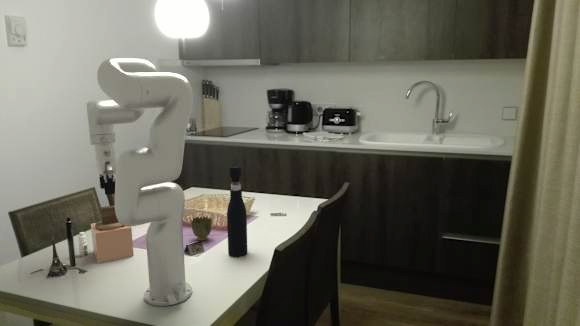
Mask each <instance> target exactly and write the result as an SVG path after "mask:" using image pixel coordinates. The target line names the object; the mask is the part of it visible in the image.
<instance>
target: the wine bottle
mask: <svg viewBox="0 0 580 326" xmlns="http://www.w3.org/2000/svg"><path fill="white" fill-rule="evenodd" d="M228 170H229V172H228V173H229V177H230V178H231V184H230V199H229V201H228V205H227V211H226V223H227V224H226V225H227V227H226V228H227V252H228V257H229V256H230V257H231V258H243V257H245V256H247V255H248V226H247V225H248V223H247V221H248V220H247V218H248V217H247V208H246V205H245V202H244V201H245V200H243V190H242V185H241V183H240V182H241V181H240V178H241V177H242V176H243V175H242V166H241V165H236V164H235V165H230V166H229V168H228Z"/></svg>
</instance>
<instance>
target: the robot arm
mask: <svg viewBox="0 0 580 326" xmlns="http://www.w3.org/2000/svg"><path fill="white" fill-rule="evenodd" d="M96 77H97V83H98V86H99V87H100V89H101V90H102V92H103V93H104V94H105V95H106V96H107V97H109V99H98V100H97V99H95V100H89V101H88V102H87V103H86V113H87V121H88V122H87V123H88V130H89V131H88V132H89V141H90V143H89V144H90V145H91V146H94V151H95V163H96V169H97V171H98V173H99V186H100V189H101V190H102V189H104V195H106V196H109V195H114V205H115V213H116V217H117V219H118V221H119V222H120V224H122V225H123V226H127V227H131V228H132V227H136V226H141V225H145V224H149V226H148V228H147V230H146V235H145V242H146V243H145V245H146V256H147V257H146V258H147V268H148V269H147V270H148V282H149V287H148V288H147V289H145V291H144V293H143V297H144V301H145V302H146V303H148V304H149V305H152V306H156V307H158V306H160V307H165V306H166V307H167V306H172V305H177V304H179V303H182V302H184V301H186V300H187V299H188V298H190V296H191V295H192V293H193V288H192V286H191V284H190V283H188V282H187V281H186V268H185V267H186V266H185V249H184V230H183V229H184V228H183V225H184V224H183V222H184V211H185V204H186V203H185V202H186V196H185V192H184V190H183V188H182V187H181V185H179V184H178V183H175V182H173V181H176V180H177V179H178V178H179V177H180V175H181V174H182V169H183V161H184V155H185V154H184V151H185V144H186V143H185V142H186V132H187V128H188V125H189V122H190V119H191V115H192V112H193V107H194V106H193V105H194V94H193V89H192V86H191V84H190V81H189V80H188V79H187V77H185V76H183V75H181V74H179V73H175V72H174V73H173V72H164V71H163V72H160V71H159V72H158V71H157V68H156V67H155V65H154V64H153V63H151V62H150V61H149V60H146V59H143V58H106V59H105V60H103V61H102V62H101V63H100V65H99V66H98V69H97V75H96ZM157 108H162V110H161V111H160V112H159V114H158V115H157V116H156V117H155V119H154V120H153V122H152V124H151V126H150V128H149V139H148V144H147V145H146V146H143V147H135V148H130V149H126V150H124V151H122V152H121V153H120V154H119V156H118V158H116V152H115V146H114V144H116V143H117V142H116V141H117V139H116V130H115V125H121V124H122V125H123V124H132V123H135V122H137V121H138V120H139V119H140V118H141V117H142V116H143V115H144V113H145V110H146V109H157ZM116 159H117V160H116ZM114 174H115V176H114Z"/></svg>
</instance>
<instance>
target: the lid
mask: <svg viewBox="0 0 580 326" xmlns="http://www.w3.org/2000/svg"><path fill="white" fill-rule="evenodd" d="M100 217H101V220H99V221H96V222H95V223H96V224H95V226H96V229H98V230H101V231H103V230H114V229H118V228H121V227H123V225H122V224H120V222H119V221H118V219H117V217H116V213H115V204H114V205H113V204H112V205H107V206H100Z"/></svg>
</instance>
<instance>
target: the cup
mask: <svg viewBox="0 0 580 326" xmlns="http://www.w3.org/2000/svg"><path fill="white" fill-rule="evenodd" d="M190 223H191V228H192V233H193V235H194V236H195V237H196V238H197V241H199V242H206V241H208V236H209V235H210V233H211V232H212V226H213V225H212V224H213V218H212V217H210V216H209V217H208V216H203V217H202V216H200V217H199V216H196V217H193V218H192V219H191V220H190Z"/></svg>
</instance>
